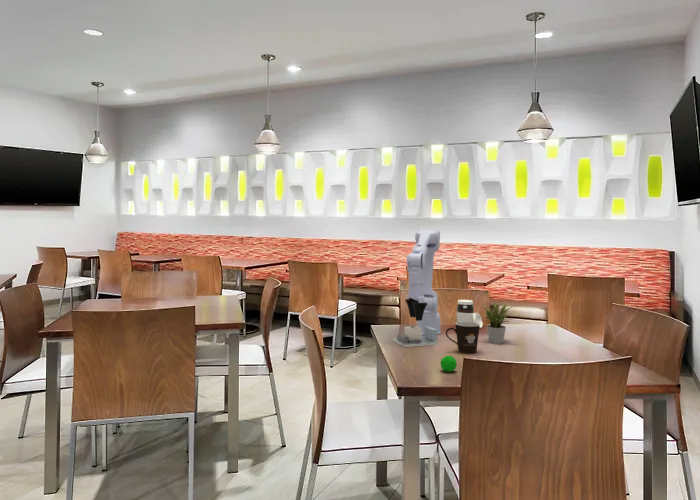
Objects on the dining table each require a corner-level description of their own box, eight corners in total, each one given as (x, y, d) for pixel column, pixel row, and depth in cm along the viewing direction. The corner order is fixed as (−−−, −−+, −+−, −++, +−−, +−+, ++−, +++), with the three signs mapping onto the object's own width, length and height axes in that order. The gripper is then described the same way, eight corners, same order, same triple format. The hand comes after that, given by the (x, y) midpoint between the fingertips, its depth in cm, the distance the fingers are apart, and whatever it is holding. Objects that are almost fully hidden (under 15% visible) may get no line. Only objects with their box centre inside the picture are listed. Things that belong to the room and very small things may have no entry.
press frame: (424, 338, 210) (424, 331, 210) (438, 344, 198) (438, 337, 198) (392, 340, 206) (392, 333, 206) (404, 347, 194) (404, 339, 194)
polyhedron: (439, 372, 160) (439, 357, 160) (441, 368, 165) (442, 353, 165) (455, 374, 159) (455, 358, 158) (457, 370, 163) (457, 355, 163)
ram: (429, 336, 207) (429, 326, 207) (436, 339, 201) (436, 329, 201) (424, 336, 207) (424, 326, 207) (432, 340, 200) (432, 330, 200)
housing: (416, 338, 204) (416, 325, 204) (420, 341, 200) (421, 327, 200) (404, 339, 203) (404, 326, 203) (409, 341, 199) (409, 328, 199)
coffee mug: (480, 349, 190) (480, 322, 190) (478, 355, 182) (478, 327, 182) (448, 347, 194) (448, 320, 193) (445, 352, 186) (445, 325, 185)
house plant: (520, 340, 206) (521, 299, 205) (516, 347, 193) (516, 304, 193) (484, 337, 212) (484, 297, 211) (477, 344, 199) (478, 301, 199)
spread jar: (455, 323, 241) (456, 299, 241) (480, 324, 240) (480, 299, 239) (457, 328, 229) (457, 302, 229) (483, 329, 228) (484, 303, 227)
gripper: (400, 282, 208) (400, 315, 208) (411, 286, 193) (411, 322, 194) (417, 281, 209) (417, 315, 209) (429, 285, 195) (429, 321, 195)
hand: (415, 318), depth 202 cm, fingers open, 7 cm apart
